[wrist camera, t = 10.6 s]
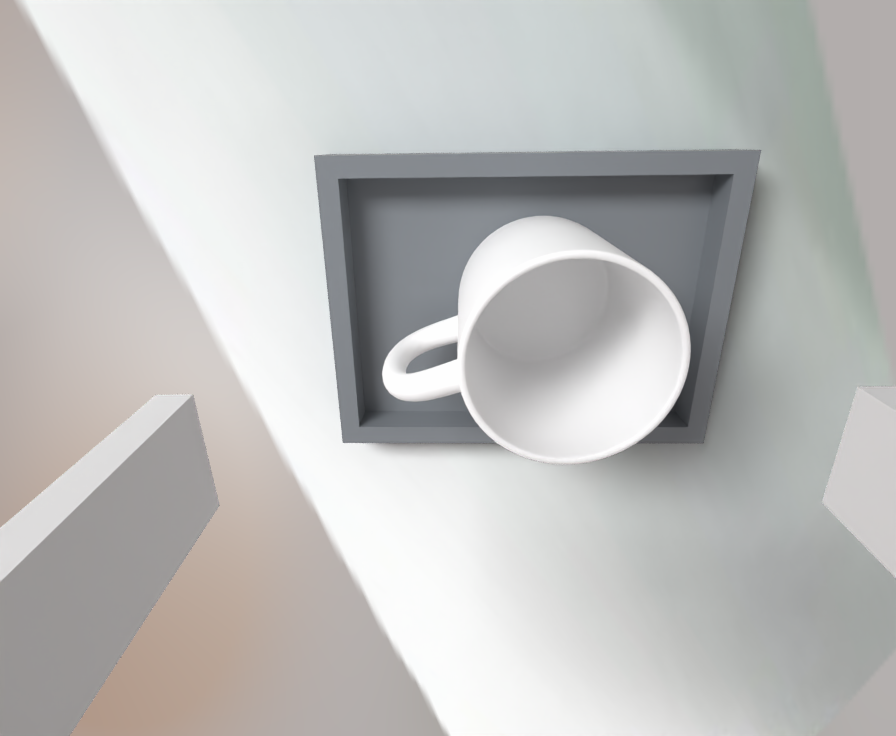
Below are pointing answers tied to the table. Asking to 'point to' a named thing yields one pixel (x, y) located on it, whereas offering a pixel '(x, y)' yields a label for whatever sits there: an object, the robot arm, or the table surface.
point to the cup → (554, 344)
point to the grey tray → (480, 214)
